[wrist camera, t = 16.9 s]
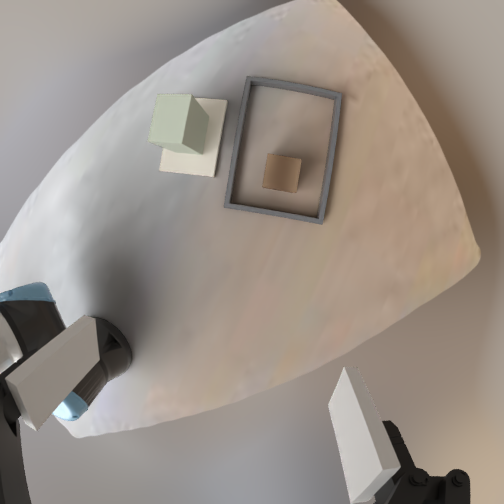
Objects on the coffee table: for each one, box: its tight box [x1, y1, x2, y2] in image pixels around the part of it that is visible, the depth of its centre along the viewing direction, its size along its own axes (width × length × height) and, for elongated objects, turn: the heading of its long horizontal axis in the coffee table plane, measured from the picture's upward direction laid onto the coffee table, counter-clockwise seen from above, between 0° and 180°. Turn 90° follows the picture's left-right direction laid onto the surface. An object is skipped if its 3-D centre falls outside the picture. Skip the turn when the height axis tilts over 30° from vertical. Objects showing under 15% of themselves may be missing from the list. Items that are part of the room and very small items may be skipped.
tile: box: [159, 98, 228, 177], centre depth 45 cm, size 10×14×1 cm
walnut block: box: [262, 154, 302, 193], centre depth 43 cm, size 5×5×7 cm
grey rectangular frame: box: [224, 76, 342, 224], centre depth 44 cm, size 17×24×2 cm
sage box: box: [148, 94, 209, 155], centre depth 38 cm, size 5×7×12 cm
